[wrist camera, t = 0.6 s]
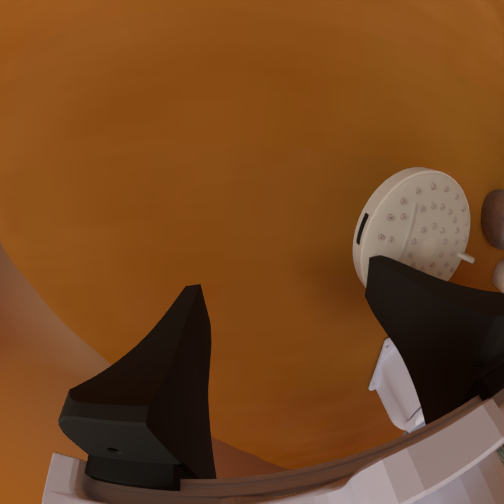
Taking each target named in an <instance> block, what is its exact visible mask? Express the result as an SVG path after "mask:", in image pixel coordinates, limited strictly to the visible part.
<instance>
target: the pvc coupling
mask: <svg viewBox="0 0 504 504" xmlns="http://www.w3.org/2000/svg"><path fill="white" fill-rule="evenodd" d="M492 284H493V285H494V286H495V287H496V288H497V289H499V290H500V291H501V292H502V293H504V258H503V259H501V260H500V262H499V263H498V265H497V266H496V268H495V270H494V273H493V276H492Z"/></svg>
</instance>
